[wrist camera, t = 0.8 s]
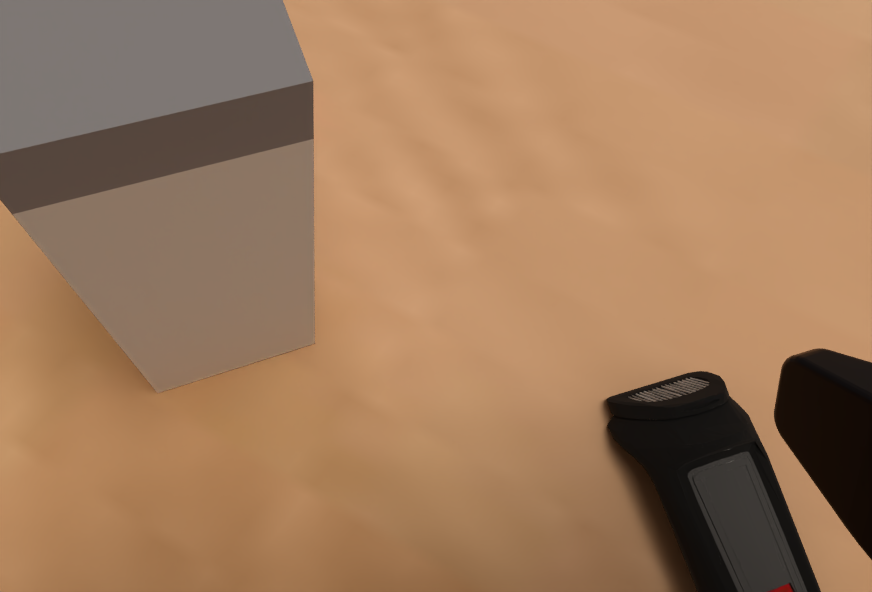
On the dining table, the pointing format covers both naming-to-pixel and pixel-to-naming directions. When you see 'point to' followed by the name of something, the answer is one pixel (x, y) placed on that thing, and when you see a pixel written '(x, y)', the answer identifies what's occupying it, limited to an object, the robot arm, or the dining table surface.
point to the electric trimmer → (713, 485)
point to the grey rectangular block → (166, 172)
